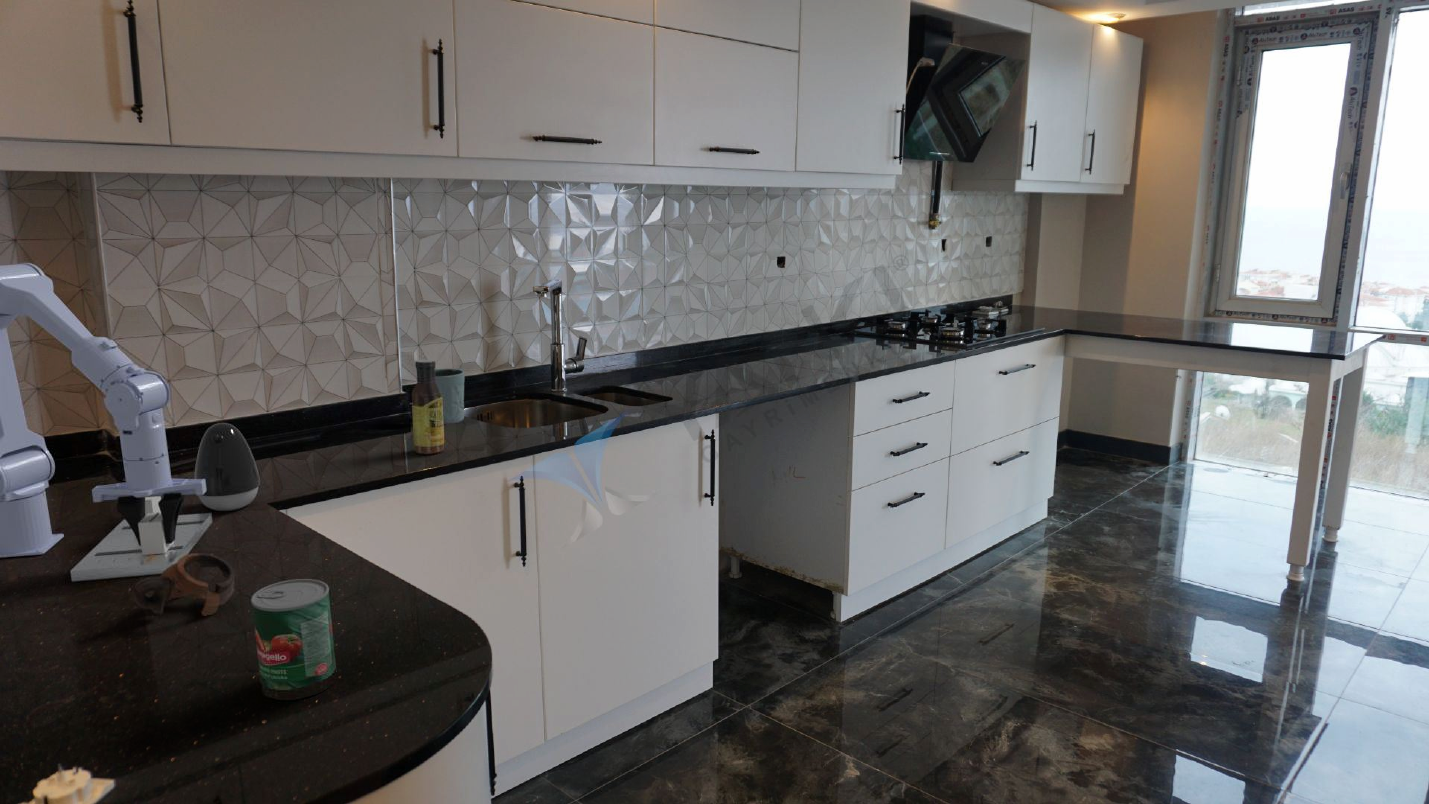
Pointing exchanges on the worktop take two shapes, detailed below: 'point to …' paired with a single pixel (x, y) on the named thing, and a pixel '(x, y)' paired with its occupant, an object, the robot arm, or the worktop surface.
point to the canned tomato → (293, 633)
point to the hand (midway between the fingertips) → (157, 542)
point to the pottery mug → (186, 585)
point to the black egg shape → (226, 469)
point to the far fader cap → (152, 505)
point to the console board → (138, 551)
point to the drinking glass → (451, 393)
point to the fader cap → (153, 534)
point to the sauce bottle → (427, 410)
